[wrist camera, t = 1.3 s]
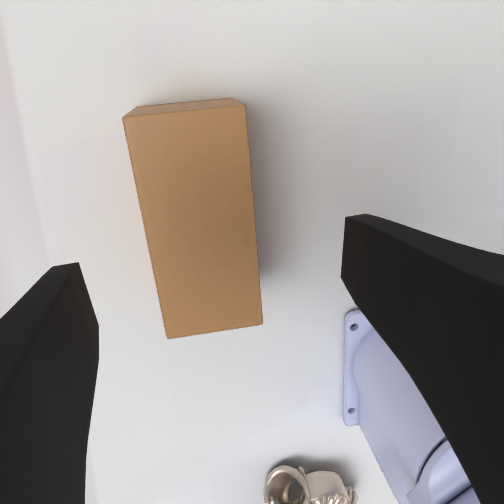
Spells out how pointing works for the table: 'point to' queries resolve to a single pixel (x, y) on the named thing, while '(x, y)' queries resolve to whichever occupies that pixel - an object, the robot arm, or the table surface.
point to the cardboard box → (197, 212)
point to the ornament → (307, 487)
